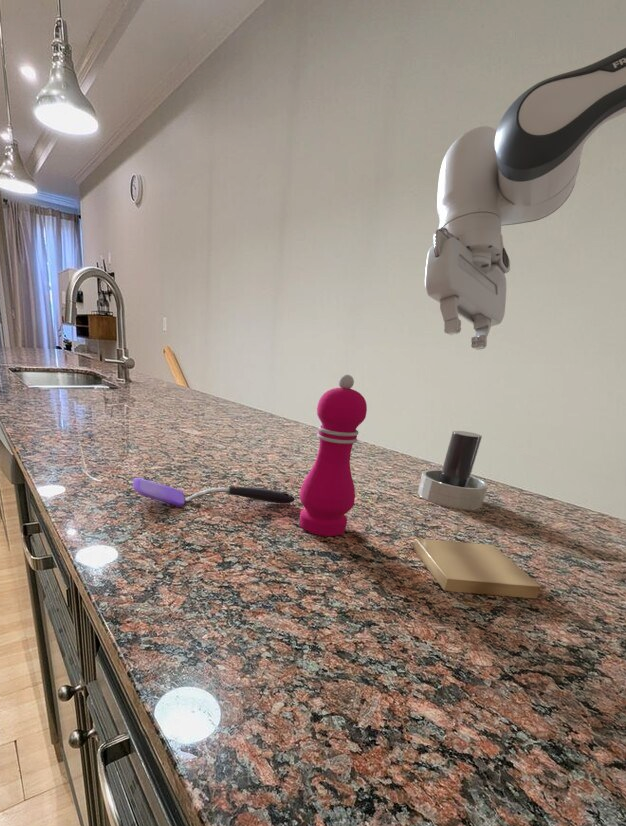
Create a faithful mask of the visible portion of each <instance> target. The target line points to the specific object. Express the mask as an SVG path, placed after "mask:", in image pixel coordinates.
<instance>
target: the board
mask: <svg viewBox="0 0 626 826" xmlns="http://www.w3.org/2000/svg"><path fill="white" fill-rule="evenodd" d="M412 549H413V551H414V552H415V554H416V555H417V556H418V558H419V559H420V560H421V562H422V563H423V564H424V566H425V567H426V568H427V570H428V571H429V572H430V573H431V575H432V576H433V578H434V579H435V581H436V582H437V583H438V584H439V586H440V587H441V589H442V590H443V591H444V592H453V593H464V594H465V593H467V594H477V595H488V596H489V595H490V596H498V597H499V596H500V597H511V598H522V599H524V598H525V599H534V600H535V599H538V597H539V595H540V591H541V589H542V586H541V585H540V584H538V582H537V581H535V579H533V578H532V577H531V576H530V575H529V574H527V573H526V571H524V570H523V569H522V568H521V567H519V566H518V564H516V563H515V562H514V561H513V560H511V559H510V558H509V557H508V556H507V555H506V554H505V553H504V552H502V551H501V550H500V549H499V548H498V547H497V546H496V545H495V544H487V543H486V544H485V543H473V542H463V541H453V540H440V539H429V538H415V539H414V544H413V547H412Z"/></svg>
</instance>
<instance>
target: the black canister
mask: <svg viewBox="0 0 626 826" xmlns="http://www.w3.org/2000/svg"><path fill="white" fill-rule="evenodd" d="M482 438H483V436H482V435H481V434H480V433H475V432H472V431H465V430H453V431H451V435H450V439H449V442H448V446H447V450H446V453H445V457H444V461H443V465H442V469H441V470H442V472H441V476H440V480H439V482H441V483H444V484H448V485H452V486H458V487H466V488H467V486H468V483H469V479H470V476H472V473H473V468H474V466H475V461H476V459H477V456H478V452H479V448H480V445H481V441H482Z"/></svg>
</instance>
